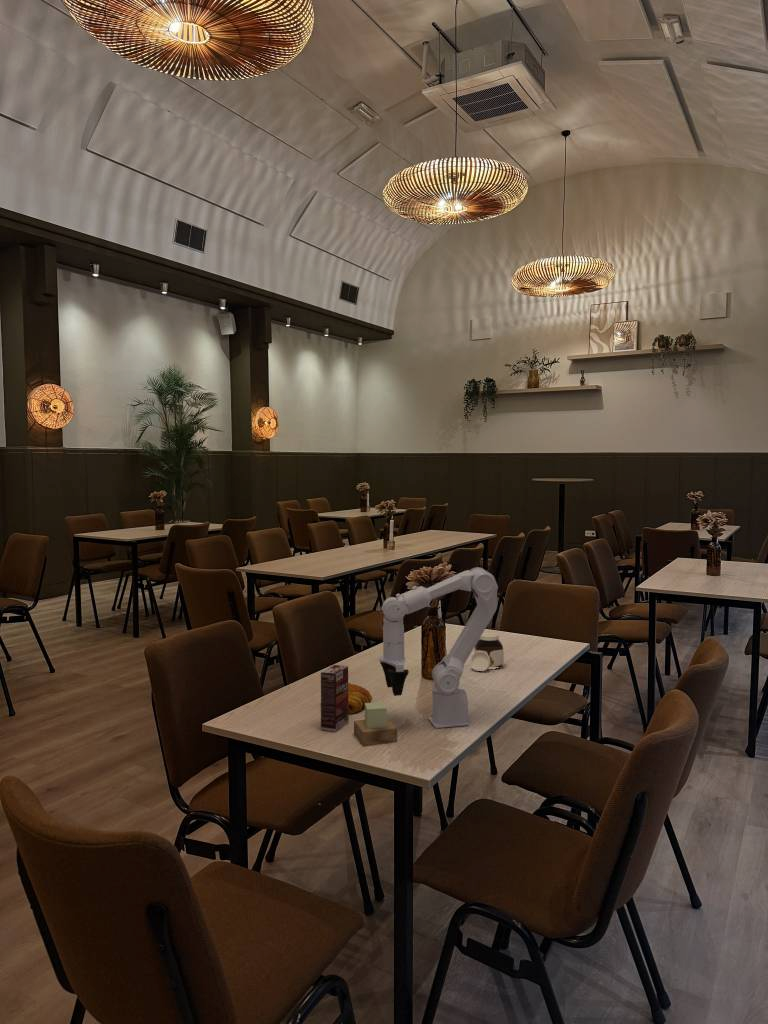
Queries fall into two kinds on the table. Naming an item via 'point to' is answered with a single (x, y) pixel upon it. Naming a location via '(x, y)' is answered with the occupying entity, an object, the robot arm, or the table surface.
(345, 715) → the supplement box
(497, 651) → the spread jar
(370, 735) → the block
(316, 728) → the table surface
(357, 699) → the croissant
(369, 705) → the cube
